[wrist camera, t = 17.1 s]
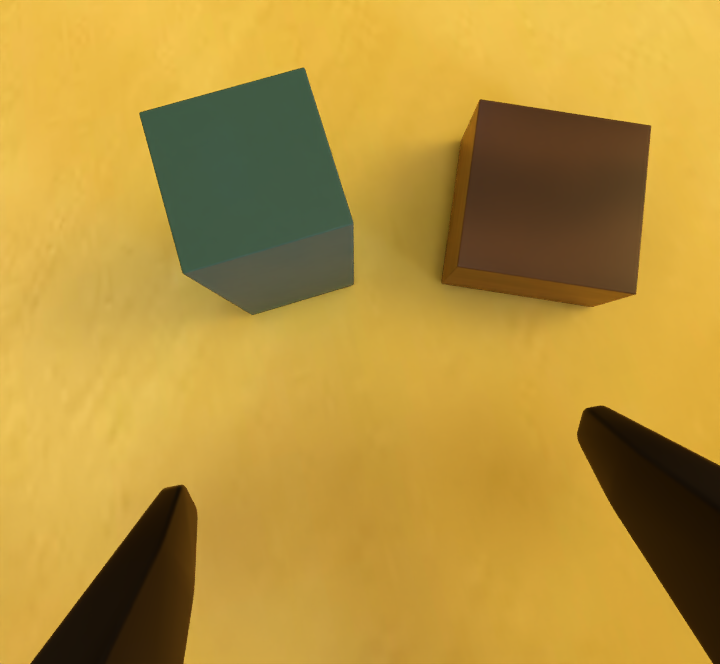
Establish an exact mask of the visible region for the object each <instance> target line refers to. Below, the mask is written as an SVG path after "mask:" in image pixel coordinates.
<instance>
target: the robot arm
mask: <svg viewBox="0 0 720 664" xmlns="http://www.w3.org/2000/svg"><path fill="white" fill-rule="evenodd" d="M577 437H578V441H579V444H580V446H581V448H582V450H583V452H584V454H585V456H586V458H587V460H588V462H589V464H590V466H591V467H592V469H593V471H594V473H595V475H596V477H597V479H598V481H599V483H600V485H601V487H602V489H603V491H604V493H605V495H606V497H607V498H608V500H609V502H610V504H611V506H612V507H613V509H614V510H615V512H616V514H617V515H618V517H619V518H620V520H621V521H622V523H623V525H624V526H625V528H626V529H627V531H628V532H629V534H630V535H631V537H632V539H633V540H634V542H635V543H636V545H637V546H638V548H639V549H640V551H641V553H642V554H643V556H644V557H645V559H646V560H647V562H648V563H649V565H650V566H651V568H652V570H653V571H654V573H655V574H656V576H657V577H658V579H659V580H660V582H661V584H662V585H663V587H664V588H665V590H666V591H667V593H668V594H669V596H670V598H671V599H672V601H673V602H674V604H675V605H676V607H677V608H678V610H679V612H680V613H681V615H682V616H683V618H684V619H685V621H686V622H687V624H688V625H689V627H690V629H691V630H692V632H693V633H694V635H695V636H696V638H697V639H698V641H699V643H700V644H701V646H702V647H703V649H704V650H705V652H706V653H707V655H708V657H709V658H710V660H711V661H712V663H713V664H720V466H719V465H718V464H716V463H714V462H712V461H710V460H708V459H706V458H704V457H702V456H700V455H698V454H696V453H694V452H692V451H691V450H689V449H687V448H685V447H683V446H681V445H679V444H677V443H675V442H673V441H671V440H669V439H667V438H666V437H664V436H662V435H660V434H658V433H656V432H654V431H652V430H650V429H648V428H646V427H644V426H642V425H640V424H639V423H637V422H635V421H633V420H631V419H629V418H627V417H625V416H623V415H621V414H619V413H617V412H615V411H613V410H612V409H610V408H608V407H605V406H595V407H590V408H586V409H585V410H584V411H583V413H582V417H581V421H580V424H579V428H578V432H577ZM196 542H197V509H196V506H195V504H194V502H193V500H192V498H191V496H190V494H189V492H188V490H187V488H186V487H185V486H184V485H177V486H171V487H167V488H164V489H163V490H162V491H161V492H160V493H159V494H158V496H157V497H156V498H155V500H154V501H153V502H152V504H151V505H150V506H149V508H148V509H147V510H146V511H145V513H144V514H143V515H142V517H141V518H140V519H139V521H138V522H137V523H136V525H135V526H134V527H133V529H132V530H131V531H130V533H129V534H128V535H127V537H126V538H125V539H124V541H123V542H122V543H121V545H120V546H119V547H118V549H117V550H116V551H115V552H114V554H113V555H112V556H111V558H110V559H109V560H108V562H107V563H106V564H105V566H104V567H103V568H102V570H101V571H100V572H99V574H98V575H97V576H96V578H95V579H94V580H93V582H92V583H91V584H90V586H89V587H88V588H87V590H86V591H85V592H84V594H83V595H82V596H81V597H80V599H79V600H78V601H77V603H76V604H75V605H74V607H73V608H72V609H71V611H70V612H69V613H68V615H67V616H66V617H65V619H64V620H63V621H62V623H61V624H60V625H59V627H58V628H57V629H56V631H55V632H54V633H53V635H52V636H51V637H50V639H49V640H48V641H47V642H46V644H45V645H44V646H43V648H42V649H41V650H40V652H39V653H38V654H37V656H36V657H35V658H34V660H33V661H32V662H31V664H183V662H184V656H185V649H186V643H187V636H188V630H189V623H190V616H191V610H192V603H193V595H194V585H195V565H196Z"/></svg>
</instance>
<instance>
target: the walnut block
mask: <svg viewBox="0 0 720 664" xmlns="http://www.w3.org/2000/svg"><path fill="white" fill-rule="evenodd" d="M650 133H651V126H650V125H643V124H637V123H630V122H624V121H617V120H611V119H604V118H598V117H591V116H585V115H578V114H572V113H565V112H559V111H552V110H546V109H539V108H533V107H526V106H520V105H514V104H507V103H501V102H494V101H488V100H479V102H478V105H477V107H476V109H475V111H474V113H473V116H472V118H471V120H470V122H469V124H468V127H467V129H466V131H465V133H464V135H463V138H462V140H461V145H460V153H459V160H458V167H457V174H456V182H455V189H454V196H453V203H452V211H451V218H450V225H449V232H448V239H447V247H446V254H445V261H444V268H443V276H442V284H448V285H455V286H461V287H468V288H474V289H480V290H487V291H493V292H500V293H506V294H513V295H519V296H525V297H532V298H538V299H545V300H551V301H558V302H564V303H570V304H577V305H583V306H590V307H594V306H597V305H601V304H604V303H608V302H611V301H614V300H618V299H621V298H625V297H628V296H632V295H635V294H636V289H637V278H638V267H639V255H640V244H641V233H642V222H643V211H644V200H645V189H646V177H647V166H648V155H649V144H650Z"/></svg>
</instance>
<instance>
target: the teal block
mask: <svg viewBox="0 0 720 664" xmlns="http://www.w3.org/2000/svg"><path fill="white" fill-rule="evenodd" d="M140 118H141V122H142V125H143V129H144V133H145V136H146V140H147V144H148V147H149V151H150V155H151V158H152V162H153V166H154V169H155V173H156V177H157V180H158V184H159V188H160V191H161V195H162V199H163V202H164V206H165V210H166V213H167V217H168V221H169V225H170V228H171V232H172V236H173V239H174V243H175V247H176V250H177V254H178V258H179V261H180V265H181V269H182V272H183V274H185V275H186V276H188V277H190V278H191V279H193V280H195V281H196V282H198V283H200V284H201V285H203V286H205V287H206V288H208V289H210V290H211V291H213V292H215V293H216V294H218V295H220V296H221V297H223V298H225V299H226V300H228V301H230V302H231V303H233V304H235V305H236V306H238V307H240V308H241V309H243V310H245V311H246V312H248V313H250V314H251V315H254V314H257V313H261V312H264V311H267V310H271V309H274V308H277V307H281V306H284V305H287V304H291V303H294V302H297V301H301V300H304V299H307V298H311V297H314V296H318V295H321V294H324V293H328V292H331V291H334V290H338V289H341V288H344V287H348V286H351V285H353V284H354V242H353V220H352V217H351V214H350V210H349V207H348V204H347V201H346V198H345V195H344V191H343V188H342V185H341V182H340V179H339V176H338V172H337V169H336V166H335V163H334V160H333V157H332V153H331V150H330V147H329V144H328V141H327V137H326V134H325V131H324V128H323V125H322V122H321V118H320V115H319V112H318V109H317V106H316V103H315V99H314V96H313V93H312V90H311V87H310V84H309V80H308V77H307V74H306V71H305V69H304V68H300V69H296V70H292V71H289V72H285V73H282V74H278V75H274V76H271V77H267V78H263V79H260V80H256V81H252V82H249V83H245V84H242V85H238V86H234V87H231V88H227V89H223V90H220V91H216V92H212V93H209V94H205V95H202V96H198V97H194V98H191V99H187V100H183V101H180V102H176V103H173V104H169V105H165V106H162V107H158V108H154V109H151V110H147V111H143V112H140Z"/></svg>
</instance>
